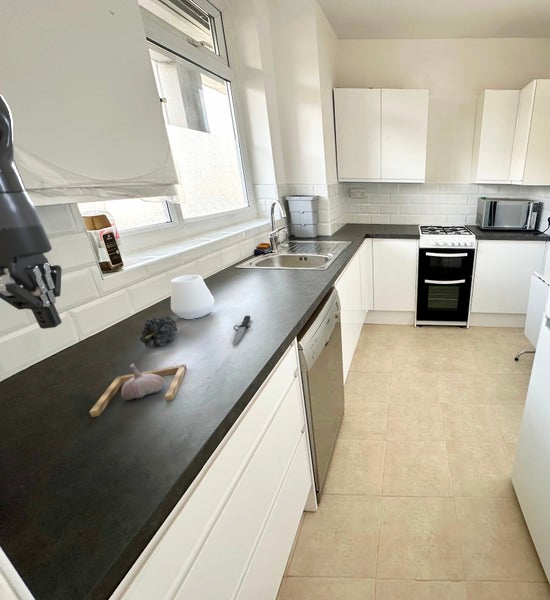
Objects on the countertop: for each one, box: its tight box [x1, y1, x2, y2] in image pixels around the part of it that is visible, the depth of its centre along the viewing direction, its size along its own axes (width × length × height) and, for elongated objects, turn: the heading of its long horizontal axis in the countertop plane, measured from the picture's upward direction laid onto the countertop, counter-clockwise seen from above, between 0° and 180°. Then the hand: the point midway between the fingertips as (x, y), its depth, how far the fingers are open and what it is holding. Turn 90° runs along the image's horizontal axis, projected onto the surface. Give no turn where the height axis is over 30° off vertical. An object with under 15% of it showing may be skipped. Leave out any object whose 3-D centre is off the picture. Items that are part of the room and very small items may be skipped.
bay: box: [89, 364, 188, 418], centre depth 73 cm, size 13×14×2 cm
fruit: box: [139, 315, 178, 348], centre depth 95 cm, size 9×8×15 cm
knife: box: [231, 315, 252, 346], centre depth 100 cm, size 19×2×5 cm
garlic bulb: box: [121, 363, 165, 401], centre depth 70 cm, size 8×7×8 cm
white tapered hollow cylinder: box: [170, 274, 215, 319], centre depth 111 cm, size 13×13×14 cm
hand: (51, 326), depth 54 cm, fingers closed
